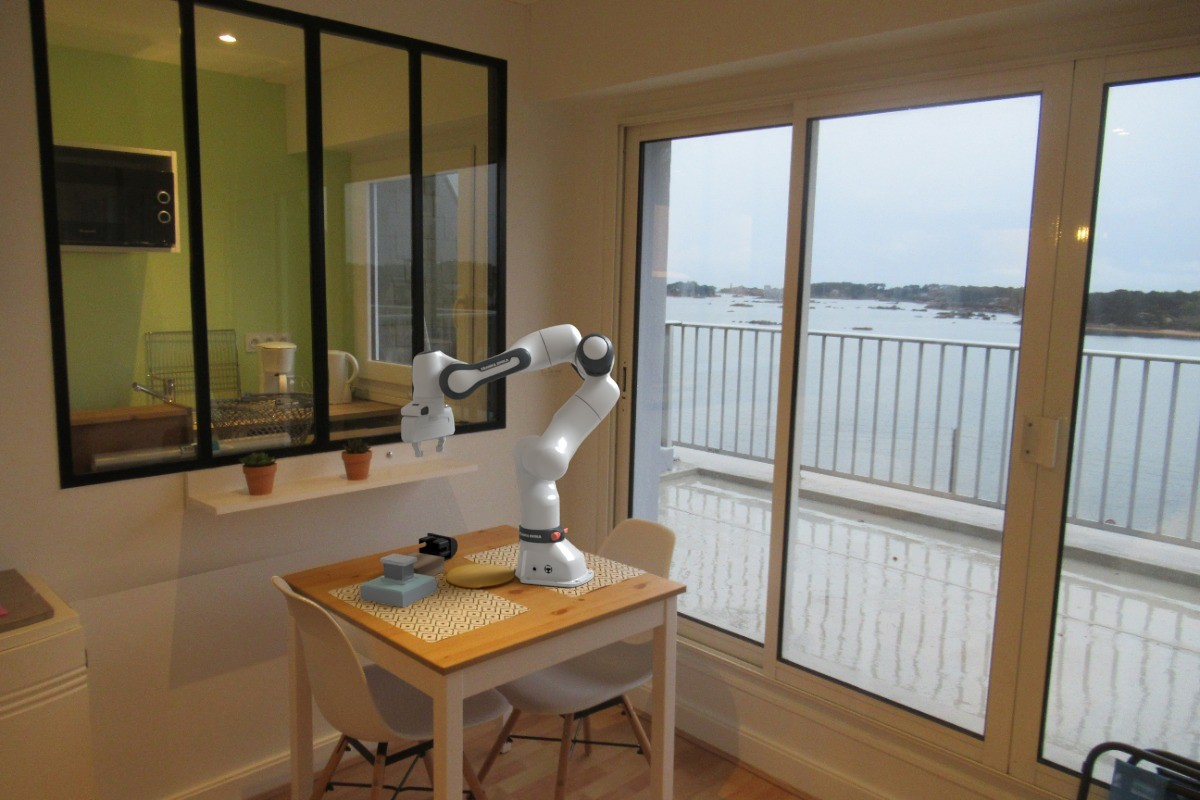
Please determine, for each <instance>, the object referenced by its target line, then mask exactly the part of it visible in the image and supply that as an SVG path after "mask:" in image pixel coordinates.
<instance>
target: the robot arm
mask: <svg viewBox="0 0 1200 800" xmlns="http://www.w3.org/2000/svg"><path fill="white" fill-rule="evenodd" d="M562 363H570V365H571V368H572V369H573V370H574V371H575V372H576V373H577V375H578V376H579V377H580V378H581V380H583V383H582V385H581V386H580V387H579V388H578V389H577V390H576V392H574V394H572V396H570V397H569V399H567V400H566V402H564V404H563V405H562V406H561V407H560V408H558V410H557V411H556V412H555V413H554V415H553V417H552V419H551V421H550V423H549V424H548V426H547V428H546V429H545V431H544V433H542V435H541V436H540V435H538V434H528V435H525V436H521V437H520V438H518V440H517V441H515V443H514V445H513V448H512V457H513V460H514V465H515V474H516V475H515V476H516V481H517V486H518V493H519V505H520V506H519V508H520V509H519V511H520V512H519V513H520V517H519V519H520V520H519V521H520V523H519V525H518V540H519V541H518V542H519V552H518V558H517V559H518V560H517V566H516V570H515V573H514V575H515V577H517V578H518V579H519V581H520V583H522V584H529V585H530V584H532V585H542V586H551V587H559V588H560V587H562V588H563V587H564V588H574V587H579V586H582V585H584V584H586V583H588V582H590V581H591V580H592V579H593V578H594V577H595V571H594V570H592V569H588V568H587V563H586V557H585V555H584V553H583V552H582V551H581V550H579V549H578V548H577V547H576V546H575V545H574V544H573V543H572V542H570V541H569V540H568V539H567V538H566V535H565V533H568V529H569V528H568V527H566V528H564V529H563V527H562V524H561V522H560V519H561V517H560V516H561V515H560V511H561V510H560V495H559V492H558V489H557V488H558V487H557V484H556V481H558V480H559V479H561V478H562V477H563V476H564V475H565V474H566V473H567V470H568V468H569V463H570V461H571V460H572V458H573V457H574V455H575V454H576V452H577V450H578V449H579V447H581V444H582V443H583V442H584V441H585V439H586V438H587V437H589V435H590V434H591V433H592V432H593V431H594V430H595V429H596V428H597V427H598V426H599V424H600V423H602V421H603V420H604V419H605V418H607V416H608V415H609V413H611V410H612V409H613V408H614V406H615V405H616V404H617V402H618V400H619V399H620V394H621V393H620V392H621V391H620V388H619V386H618V384H617V383H616V381H615V380H614V379H613V378H612V377H611V375H612V373H613V367H614V364H615V348H614V345H613V343H612V341H611V339H609V338H608V337H607V336H606V335H604V334H602V333H598V332H593V333H589V334H586V335H585V336H584V337H582V335H581V332H580V331H579V330H578V328H577V327H575V326H574V325H573V324H570V323H567V324H559V325H553V326H549V327H546V328H542V329H539V330H536V331H534V332H531V333H529V334H527V335H524V336H523V337H521V338H520V339H518V340H517V341H516V342H514V344H512V345H511V346H510V348H508V349H507V350H505V351H504V352H502V353H499V354H498V355H493V356H491V357H489V358H486V359H483V360H480V361H478V362H474V363H468V362H465V361H462V360H458V359H455V358H453V357H452V356H449V355H447V354H445V353H444V352H442V350H439V349H432V350H431V349H430V350H429V349H428V350H425V351H422V352H421V351H420V352H419V353H417V354H416V355H415V356H414V358H413V360H412V369H411V370H412V373H411V377H412V379H411V380H412V386H413V392H412V400H411V401H410V402H409V403H407V404H406V405H403V407H401V409H400V414H401V416H402V419H401V421H400V423H401V424H400V433H401V434H400V436H401V440H402V442H403V443H405V444H411V447H412V448H413V451H414V456H415V458H423V456H424V450H422V448H421V445H422V444H421V443H422V442H425V441H430V440H435V439H437V440H438V443H437V445H435V451H436V453H443V452H444V451H445V449H444V446H445V444H446V441H447V437H448V436H453V435H454V433H455V431H456V428H455V417H454V414H453V413H454V412H453V411H452V407H451V405H449V403H445V396H446V397H447V398H448V399H451V400H454V401H460V400H465V399H467V398H468V397H470V396H472V394H473V393H474V392H475V391H476V390H477V389H478V388H480V387H481V386H483V385H486V384H488V383H491V382H494V381H496V380H499V379H502V378H504V377H507V376H510V375H516V374H521V373H522V374H523V373H529V372H536V371H539V370H540V371H541V370H544V369H548V368H551V367H554V366H556V365H560V364H562Z"/></svg>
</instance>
